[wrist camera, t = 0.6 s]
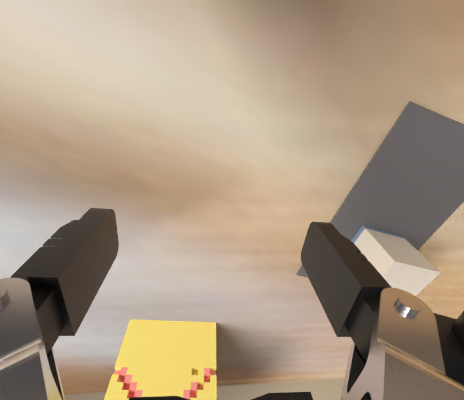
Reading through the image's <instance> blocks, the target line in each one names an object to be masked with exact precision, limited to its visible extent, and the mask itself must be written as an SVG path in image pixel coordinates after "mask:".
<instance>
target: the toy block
mask: <svg viewBox="0 0 464 400" xmlns="http://www.w3.org/2000/svg"><path fill="white" fill-rule="evenodd" d="M216 389H217V383H216V323H214V322H187V321H159V320H131V319H130V321H129V324H128V327H127V330H126V333H125V336H124V339H123V343H122V346H121V349H120V352H119V355H118V358H117V361H116V364H115V372H114V374H112V377H111V380H110V383H109V386H108V389H107V392H106V396H105V398H104V400H129V397H158V396H179V397H182V398H186V399H189V400H217V390H216Z"/></svg>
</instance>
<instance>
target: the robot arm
mask: <svg viewBox="0 0 464 400" xmlns="http://www.w3.org/2000/svg"><path fill="white" fill-rule="evenodd" d="M117 252H118V234H117V226H116V218H115V212H114V210H113V209H100V208H90V209H89V210H88V211H87V212H86V213H85V214H84V215H83V216H82V218H81V219H80V220H73V221H72V222H70V223H68V224H66V225H64V226H62V227H60V228H59V229H58V230H57V231H56V232H55V233H54V234H53V235H52V236H51V239H48V240H47V241H46V242H45V243H44V244H43V247H40V248H39V249H38V250H37V251H36V252H35V253H34V254H33V255H32V256H31V257H30V258H29V259H28V260H27V261H26V262H25V263H24V264H23V265H22V266H21V267H20V268H19V269H18V270H17V271H16V272H15V273H14V274H13V275H12V276H11V277H10V278H4V279H0V400H65V397H64V393H63V389H62V384H61V380H60V376H59V371H58V367H57V363H56V358H55V354H54V350H53V348H52V347H53V345H54V344H55V342H56V340H57V339H58V337H59V336H74V335H75V334H76V332H77V330H78V328H79V326H80V324H81V322H82V320H83V318H84V317H85V315H86V313H87V311H88V309H89V307H90V305H91V303H92V302H93V300H94V298H95V296H96V294H97V292H98V290H99V288H100V286H101V285H102V283H103V281H104V279H105V277H106V275H107V273H108V271H109V269H110V268H111V266H112V264H113V262H114V260H115V258H116V256H117ZM301 261H302V265H303V267H304V269H305V271H306V273H307V275H308V277H309V280H310V282H311V284H312V286H313V288H314V290H315V292H316V294H317V296H318V298H319V300H320V302H321V304H322V306H323V308H324V311H325V313H326V315H327V317H328V319H329V321H330V323H331V325H332V327H333V329H334V331H335V333H336V335H337V337H351V338H352V340H353V344H352V346H351V349H350V354H349V359H348V364H347V370H346V375H345V380H344V386H343V391H342V396H341V400H464V311H463V312H462V314H461V315H460V316H459V317H458V319H453V318H449V317H446V316H442V315H439V314H435V313H433V312H432V310H431V309H430V308H429V307H428V306H427V305H426V304H425V303H424V302H423V301H422V300H420V299H419V298H417V297H416V296H414V295H413V294H411V293H409V292H407V291H404V290H401V289H398V288H392V287H391V286H390V285H389V284H388V282H387V281H386V280H385V279H384V278H383V277H382V275H381V274H380V273H379V272H378V271H377V270H376V268H375V267H374V266H373V265H372V264H371V263H370V261H368V259H367V258H366V257H365V256H364V254H361V251H360V250H359V249H358V247H357V246H356V245H355V244H354V243H353V242H352V241H350V240H349V239H347V238H346V237H345V236H343V235H341V234H340V233H339V232H338V230H337V229H336V228H335V227H334V226H333V224H331V223H325V222H312V223H311V224H310V226H309V229H308V232H307V235H306V238H305V242H304V245H303V248H302V252H301ZM129 400H189V399H186V398H182V397H179V396H158V397H129ZM252 400H313V398H312V395H311V392H294V393H268V394H266V395H263V396H260V397H257V398H255V399H252Z"/></svg>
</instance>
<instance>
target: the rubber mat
mask: <svg viewBox="0 0 464 400" xmlns="http://www.w3.org/2000/svg"><path fill="white" fill-rule="evenodd" d="M463 201H464V125H463V124H461V123H459V122H456V121H454V120H452V119H449V118H447V117H445V116H442V115H440V114H438V113H435V112H433V111H431V110H428V109H426V108H423V107H421V106H419V105H416V104H414V103H412V102H409V103H408V105H407V106H406V108H405V109H404V111H403V112H402V114H401V115H400V117H399V118H398V120H397V121H396V123H395V124H394V126H393V128H392V129H391V131H390V132H389V134H388V135H387V137H386V138H385V140H384V141H383V143H382V144H381V146H380V147H379V149H378V150H377V152H376V154H375V155H374V157H373V158H372V160H371V161H370V163H369V164H368V166H367V167H366V169H365V170H364V172H363V173H362V175H361V176H360V178H359V179H358V181H357V183H356V184H355V186H354V187H353V189H352V190H351V192H350V193H349V195H348V196H347V198H346V199H345V201H344V202H343V204H342V205H341V207H340V209H339V210H338V212H337V213H336V215H335V216H334V218H333V219H332V221H331V222H330V223H331V224H333V226H334V227H335V228H336V229H337V230H338V232H339V233H340V234H341V235H343V236H345V237H346V238H347V239H349V240H350V241H351V240H352V239H353V237H354V236H355V235H356V233H357V232H358V231H359V229H360V228H361V226H362V225H364V226H367V227H371V228H375V229H379V230H382V231H386V232H390V233H394V234H397V235H401V236H403V237H404V238H405V239H406V240H407V241H408V242H409V243H410V244H411V245H412V246H413V247H414V248H415V249H417V250H419V248H420V247H421V246H422V245H423V244H424V243H425V242H426V241H427V240H428V239H429V238H430V237H431V236H432V235H433V234H434V232H435V231H436V230H437V229H438V228H439V227H440V226H441V225H442V224H443V223H444V222H445V221H446V220H447V219H448V217H449V216H450V215H451V214H452V213H453V212H454V211H455V210H456V209H457V208H458V207H459V206H460V205H461V204H462V203H463ZM297 275H299V276H304V277H308V275H307V273H306V271H305V269H304V267H303V265H302V267H301V268H300V270H299V271H298V273H297Z"/></svg>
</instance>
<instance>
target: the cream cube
mask: <svg viewBox="0 0 464 400" xmlns="http://www.w3.org/2000/svg"><path fill="white" fill-rule="evenodd" d="M351 241H352V242H353V243H354V244H355V245H356V246H357V247H358V249H359V250H360V251H361V254H364V256H365V257H366V258H367V259H368V261H370V263H371V264H372V265H373V266H374V267H375V268H376V270H377V271H378V272H379V273H380V274H381V275H382V277H383V278H384V279H385V280H386V281H387V282H388V284H389V285H390V286H391V287H392V288H398V289H401V290H404V291H407V292H409V293H411V294H413V295H414V296H416V295H417V294H419V293H420V292H421V291H422V290H423V289H424V288H425V287H426V286H427V285H428V284H429V283H430V282H431V281H432V280H433V279H434V278H436V277H437V276H438V275H439V274H440V273H441V272H440V271H439V270H438V269H437V268H436V267H435V266H434V265H432V264H431V263H430V262H429V261H428V260H427V259H426V258H425V257H424V256H423V255H422V254H421V253H420V252H419V251H418V250H417V249H415V248H414V247H413V246H412V245H411V244H410V243H409V242H408V241H407V240H406V239H405V238H404V237H403V236H401V235H397V234H394V233H390V232H386V231H382V230H379V229H375V228H371V227H367V226H364V225H362V226H361V228H360V229H359V231H358V232H357V233H356V235H355V236H354V237H353V239H352V240H351Z"/></svg>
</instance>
